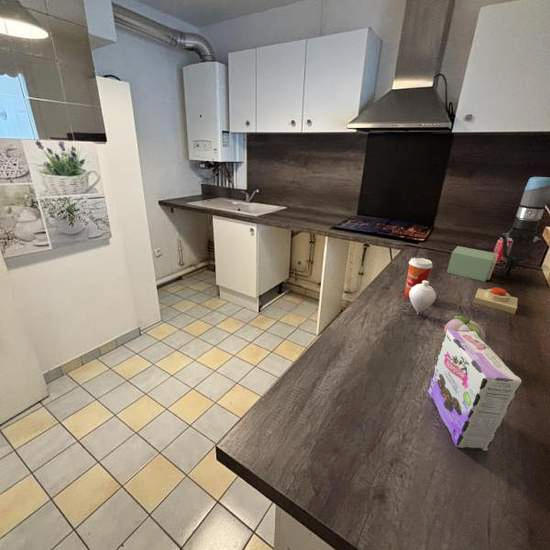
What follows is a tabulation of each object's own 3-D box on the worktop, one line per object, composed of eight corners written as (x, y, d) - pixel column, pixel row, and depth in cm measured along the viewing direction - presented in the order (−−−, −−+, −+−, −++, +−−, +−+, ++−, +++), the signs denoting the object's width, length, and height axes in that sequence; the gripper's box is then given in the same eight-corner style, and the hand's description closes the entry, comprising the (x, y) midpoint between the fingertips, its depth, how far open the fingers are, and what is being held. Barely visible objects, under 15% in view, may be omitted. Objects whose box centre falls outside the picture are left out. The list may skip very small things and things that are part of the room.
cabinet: (488, 273, 131) (495, 253, 127) (485, 281, 122) (492, 260, 118) (451, 265, 139) (457, 246, 136) (446, 272, 130) (452, 252, 127)
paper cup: (398, 291, 111) (406, 256, 105) (418, 291, 111) (427, 257, 105) (406, 300, 104) (415, 264, 98) (427, 301, 104) (437, 265, 98)
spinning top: (431, 323, 91) (441, 288, 86) (405, 317, 93) (413, 283, 88) (428, 311, 97) (437, 278, 93) (404, 306, 100) (411, 274, 95)
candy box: (425, 390, 65) (445, 327, 58) (453, 392, 64) (476, 330, 58) (455, 448, 52) (484, 376, 45) (489, 452, 52) (524, 380, 45)
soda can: (510, 262, 145) (518, 239, 140) (504, 265, 141) (513, 241, 137) (494, 258, 150) (502, 236, 146) (488, 260, 147) (496, 237, 142)
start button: (505, 294, 103) (506, 289, 103) (504, 297, 100) (506, 293, 100) (491, 290, 106) (493, 286, 105) (490, 294, 103) (492, 289, 102)
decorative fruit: (487, 358, 76) (500, 325, 72) (462, 363, 73) (474, 330, 69) (456, 337, 84) (467, 307, 80) (434, 341, 82) (443, 310, 78)
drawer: (503, 275, 127) (509, 258, 124) (501, 283, 119) (508, 265, 116) (457, 264, 137) (462, 249, 134) (453, 271, 129) (458, 255, 126)
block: (515, 303, 105) (519, 293, 103) (514, 314, 97) (519, 303, 96) (476, 293, 112) (479, 283, 110) (473, 302, 104) (476, 292, 103)
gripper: (506, 218, 113) (488, 273, 123) (549, 223, 106) (526, 281, 115) (507, 215, 119) (490, 268, 128) (548, 219, 112) (526, 276, 121)
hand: (507, 274), depth 122 cm, fingers closed
